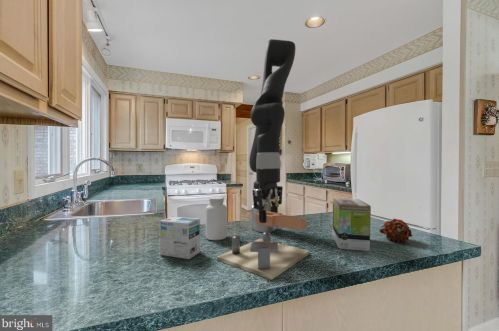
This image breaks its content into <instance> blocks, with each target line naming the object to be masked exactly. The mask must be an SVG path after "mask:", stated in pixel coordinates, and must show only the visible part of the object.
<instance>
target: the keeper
mask: <svg viewBox="0 0 499 331" xmlns="http://www.w3.org/2000/svg"><path fill="white" fill-rule="evenodd" d="M251 242H252V244H251V247H250V252H258V269H263V270H270V253H278V243H279V242H278V241H277V242H276V241H271V242H257V241H256V240H254V241H253V240H252V241H251Z"/></svg>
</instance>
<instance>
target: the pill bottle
mask: <svg viewBox="0 0 499 331" xmlns="http://www.w3.org/2000/svg"><path fill="white" fill-rule="evenodd" d="M224 201H225V199H224V197H221V196H211V197H209V204H208V205H207V206H206V207H205V238H206V239H207V240H210V241H222V240H224V239H226V238H227V236H228V207H227V206H226V204H224Z"/></svg>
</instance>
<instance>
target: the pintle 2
mask: <svg viewBox="0 0 499 331" xmlns="http://www.w3.org/2000/svg"><path fill="white" fill-rule="evenodd" d="M262 239H263V242H272V241H271V232H262Z"/></svg>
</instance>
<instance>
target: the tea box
mask: <svg viewBox="0 0 499 331" xmlns="http://www.w3.org/2000/svg"><path fill="white" fill-rule="evenodd" d="M371 208H372V207H371V205H370V204H368V203H366V202H364V201H363V200H361V199H359V198H358V199H357V198H356V199H355V198H333V199H332V237H333V239H334V242H335V243H336V246H337V248H338V249H341V250H348V251H349V250H350V251H362V252H363V251H366V252H367V251H368V252H370V251H371V222H372V220H371V217H372V214H371V211H372V210H371Z"/></svg>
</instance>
